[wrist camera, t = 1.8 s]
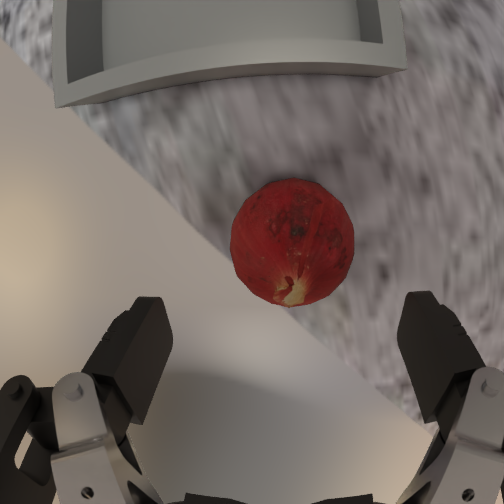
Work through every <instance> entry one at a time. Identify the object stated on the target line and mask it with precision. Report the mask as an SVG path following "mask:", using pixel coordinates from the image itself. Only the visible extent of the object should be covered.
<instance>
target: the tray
mask: <svg viewBox="0 0 504 504" xmlns="http://www.w3.org/2000/svg"><path fill="white" fill-rule="evenodd" d="M403 70H407V57H406V46H405V37H404V29H403V21H402V15H401V8H400V2H399V0H53V16H52V73H53V89H54V101H55V108H62V107H70V106H78V105H88V104H98V103H104V102H108V101H111V100H115V99H119V98H122V97H126V96H130V95H134V94H139V93H143V92H148V91H152V90H157V89H162V88H167V87H172V86H178V85H184V84H190V83H196V82H203V81H211V80H218V79H227V78H237V77H249V76H263V75H284V74H331V75H353V76H366V77H380V76H384V75H387V74H391V73H395V72H399V71H403Z"/></svg>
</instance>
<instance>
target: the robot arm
mask: <svg viewBox="0 0 504 504" xmlns="http://www.w3.org/2000/svg"><path fill="white" fill-rule="evenodd" d="M397 341H398V346H399V349H400V352H401V354H402V357H403V360H404V362H405V365H406V368H407V371H408V374H409V376H410V379H411V382H412V385H413V388H414V391H415V394H416V397H417V400H418V403H419V407H420V410H421V413H422V416H423V420H424V423H425V424H426V423H430V422H435V421H437V422H438V425H439V428H438V429H437V431H436V433H435V435H434V437H433V439H432V442H431V444H430V446H429V448H428V450H427V453H426V455H425V457H424V459H423V461H422V463H421V465H420V467H419V469H418V471H417V473H416V475H415V477H414V478H413V480H412V481H411V483H410V484H409V486H408V487H407V488H406V489H405V491H404V492H403V493H402V495H401V496H400V498H399V499H398V501H397V502H396V504H495V501H496V499H497V496H498V493H499V490H500V488H501V492H502V498H503V503H504V373H503V372H502V371H500V370H498V369H496V368H493V367H486V365H485V363H484V362H483V360H482V358H481V356H480V355H479V353H478V351H477V349H476V348H475V346H474V344H473V342H472V341H471V339H470V337H469V336H468V335H467V332H466V331H465V329H464V328H463V326H461V323H460V321H459V320H458V318H457V316H456V315H455V313H454V312H452V311H451V310H450V309H449V308H447V307H446V306H445V305H444V304H442V305H440V304H439V303H438V301H437V300H436V298H435V297H434V295H433V293H432V292H431V291H417V292H409V293H408V294H407V295H406V298H405V303H404V307H403V311H402V315H401V319H400V322H399V326H398V331H397ZM172 345H173V335H172V330H171V326H170V323H169V320H168V316H167V313H166V309H165V306H164V302H163V300H162V298H160V297H138V298H137V299H136V300H135V302H134V304H133V305H132V307H131V308H130V310H129V311H126V310H125V311H124V312H123V313H122V314H120V315H119V316H118V317H117V318H115V319H114V320H113V322H112V323H111V325H110V327H109V328H108V330H107V332H106V333H105V334H104V336H103V337H102V341H100V342H99V344H98V345H97V347H96V348H95V350H94V351H93V353H92V355H91V356H90V358H89V359H88V361H87V363H86V364H85V366H84V368H83V369H82V371H81V372H75V373H70V374H68V375H66V376H64V377H62V378H61V379H60V380H59V381H58V382H57V383H56V384H55V386H54V387H43V388H42V387H41V388H36V387H35V385H34V384H33V383H32V381H31V380H30V379H29V378H28V377H27V376H24V375H18V376H15V377H13V378H11V379H9V380H8V381H7V382H6V383H5V384H4V385H3V387H2V388H1V390H0V504H52V502H53V499H54V496H55V493H56V490H57V494H58V497H59V501H60V504H164V502H163V501H162V499H161V497H160V495H159V494H158V493H157V491H156V489H155V488H154V487H153V485H152V484H151V482H150V481H149V479H148V477H147V475H146V473H145V471H144V469H143V466H142V464H141V462H140V460H139V457H138V455H137V453H136V450H135V448H134V445H133V443H132V440H131V438H130V435H129V433H128V431H127V428H128V426H129V423H134V424H139V425H143V422H144V420H145V417H146V414H147V412H148V409H149V406H150V404H151V401H152V398H153V396H154V393H155V390H156V388H157V385H158V383H159V380H160V378H161V375H162V372H163V370H164V367H165V365H166V362H167V360H168V357H169V355H170V352H171V350H172ZM26 431H27V432H28V433H29V434H30V435H31V436H32V437H33V439H32V441H31V443H30V446H29V448H28V450H27V452H26V454H25V457H24V459H23V461H22V464H21V466H20V468H19V469H18V468H17V467H16V465H15V461H14V458H15V454H16V452H17V450H18V447H19V445H20V443H21V441H22V439H23V437H24V434H25V433H26ZM168 504H246V503H243V502H239V501H236V500H233V499H228V498H219V497H210V496H202V495H196V494H190V493H186V495H185V499H184V501H179V502H173V503H168ZM312 504H384V503H378V502H373V496H372V494H367V495H360V496H353V497H344V498H335V499H327V500H323V501H320V502H316V503H312Z"/></svg>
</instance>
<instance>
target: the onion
mask: <svg viewBox="0 0 504 504" xmlns="http://www.w3.org/2000/svg"><path fill="white" fill-rule="evenodd" d="M230 252H231V256H232V260H233V264H234V268H235V272H236V274H237V276H238V278H239V279H240V280H241V281H242V282H243V283H244V284H245V285H246V286H247V287H248V288H249V290H250V291H251V292H252V293H253V294H255V295H256V296H258V297H260V298H262V299H264V300H266V301H268V302H270V303H271V304H276V305H281V306H284V307H288V308H290V307H295V306H301V305H307V304H311V303H314V302H316V301H318V300H320V299H323V298H325V297H327V296H329V295H330V294H331V293H332V292H333V291H334V290H335V289H336V288H337V287H338V286H339V285H340V284H341V283H342V281H343V280H344V279H345V278H346V276H347V273H348V270H349V268H350V265H351V263H352V260H353V256H354V229H353V224H352V222H351V220H350V218H349V216H348V214H347V212H346V210H345V208H344V206H343V204H342V203H341V202H340V201H339V200H337V199H336V198H335V197H334V196H333V195H332V194H330V193H329V192H328V191H327V190H326V189H324V188H323V187H322V186H321V185H320V184H318V183H314V182H310V181H306V180H301V179H297V178H290V179H285V180H281V181H276V182H271V183H268V184H266V185H265V186H264V187H262V188H261V189H260V190H258V191H257V192H256V193H254V194H253V195H252V196H250V197H249V198H248V199H246V200H245V202H244V204H243V205H242V207H241V209H240V210H239V212H238V214H237V216H236V217H235V219H234V221H233V224H232V230H231V242H230Z"/></svg>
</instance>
